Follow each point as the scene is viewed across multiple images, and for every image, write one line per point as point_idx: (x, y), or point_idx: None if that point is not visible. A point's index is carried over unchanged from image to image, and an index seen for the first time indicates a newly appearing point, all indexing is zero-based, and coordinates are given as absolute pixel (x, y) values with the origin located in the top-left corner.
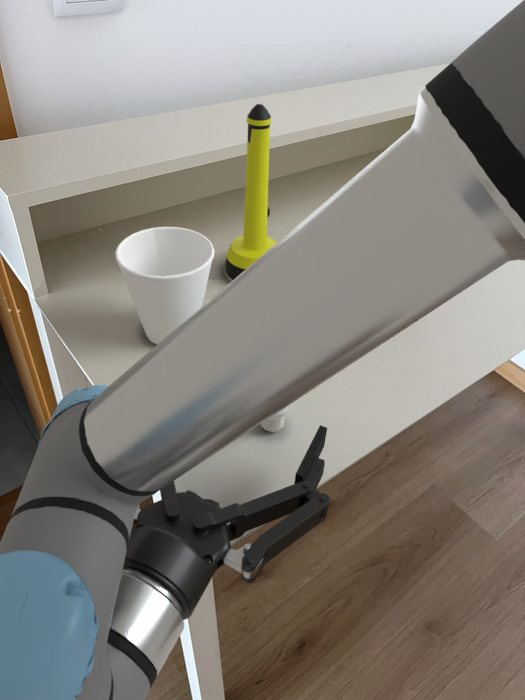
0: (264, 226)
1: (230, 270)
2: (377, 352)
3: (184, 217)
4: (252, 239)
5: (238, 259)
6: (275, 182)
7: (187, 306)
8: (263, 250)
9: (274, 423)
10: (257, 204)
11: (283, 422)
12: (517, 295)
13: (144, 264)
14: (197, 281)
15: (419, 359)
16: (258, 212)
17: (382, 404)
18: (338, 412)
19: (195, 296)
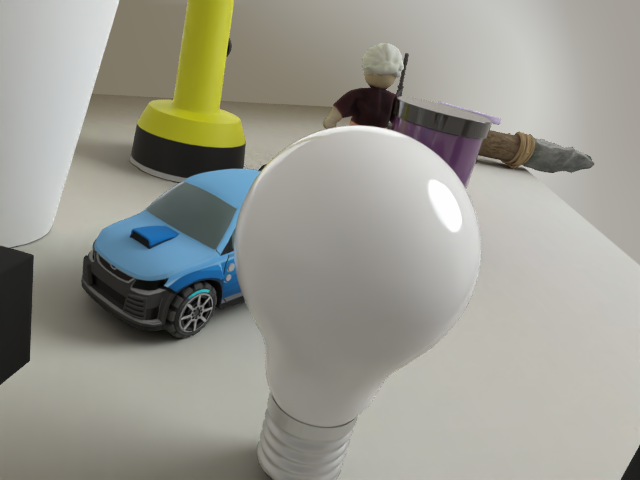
0: (221, 66)
1: (143, 148)
2: None
3: None
4: (195, 87)
5: (163, 122)
6: None
7: (26, 110)
8: (214, 115)
9: (322, 455)
10: (213, 10)
11: (346, 451)
12: (608, 240)
13: None
14: (65, 30)
15: (553, 310)
16: (213, 29)
17: (556, 397)
18: (469, 419)
19: (55, 86)
